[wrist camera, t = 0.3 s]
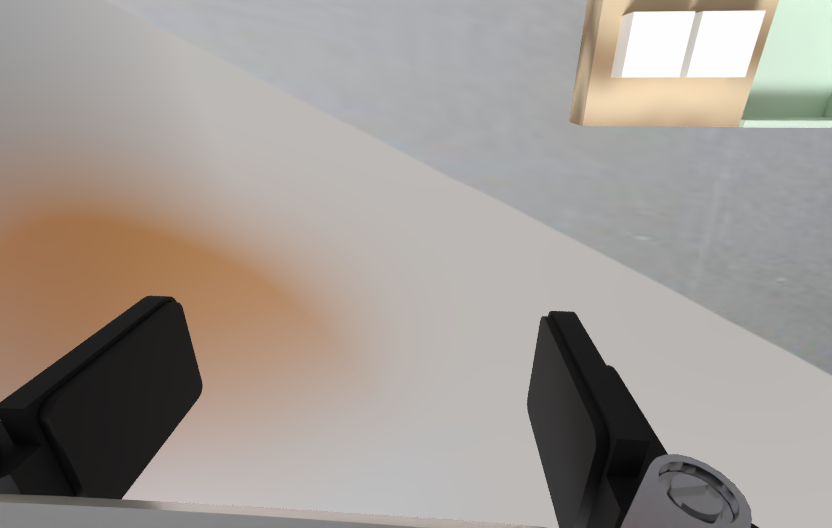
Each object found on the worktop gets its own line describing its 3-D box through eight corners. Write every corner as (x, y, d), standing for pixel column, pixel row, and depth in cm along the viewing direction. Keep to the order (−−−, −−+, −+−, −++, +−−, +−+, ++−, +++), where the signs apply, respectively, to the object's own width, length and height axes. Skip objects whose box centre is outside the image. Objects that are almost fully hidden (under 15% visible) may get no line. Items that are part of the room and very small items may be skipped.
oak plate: (592, -32, 30) (610, -44, 27) (756, -34, 30) (794, -47, 27) (569, 121, 35) (582, 126, 32) (710, 122, 35) (738, 126, 31)
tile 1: (621, 15, 29) (634, 11, 27) (679, 15, 29) (695, 11, 27) (610, 77, 30) (621, 77, 29) (664, 77, 30) (679, 77, 28)
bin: (756, -34, 30) (800, -49, 26) (883, -36, 29) (946, -52, 26) (710, 122, 35) (742, 127, 31) (820, 122, 34) (865, 127, 30)
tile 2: (686, 15, 28) (703, 11, 27) (744, 14, 28) (765, 10, 26) (671, 77, 30) (686, 77, 28) (726, 77, 30) (745, 77, 28)
